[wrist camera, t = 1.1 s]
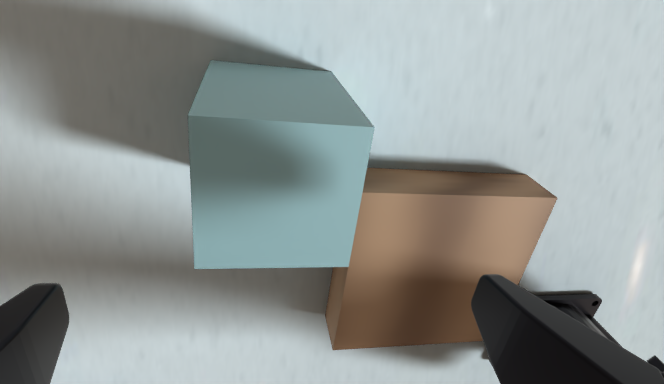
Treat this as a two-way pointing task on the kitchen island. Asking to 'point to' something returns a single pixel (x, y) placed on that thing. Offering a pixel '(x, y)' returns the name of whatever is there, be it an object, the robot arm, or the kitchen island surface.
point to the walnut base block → (431, 254)
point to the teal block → (275, 167)
